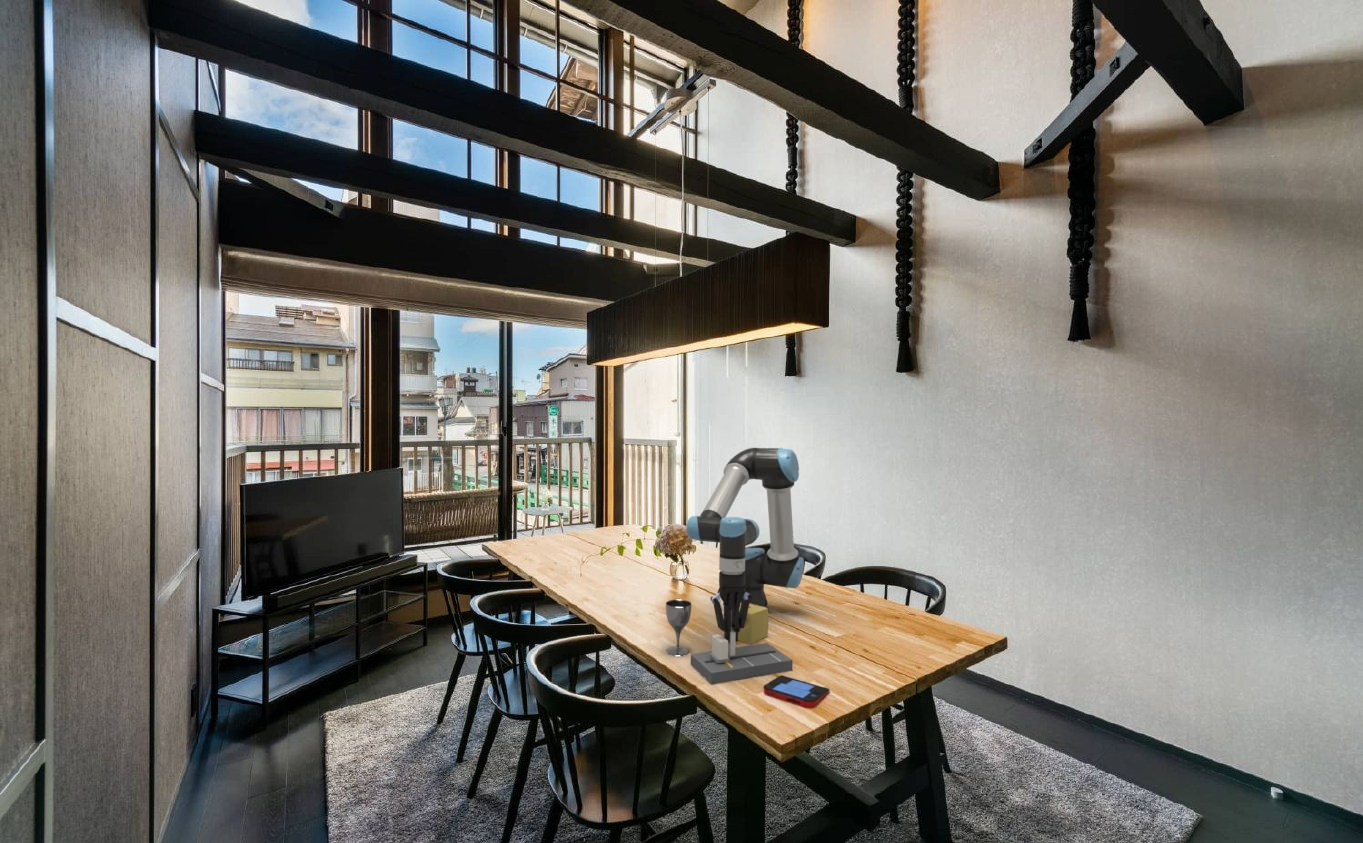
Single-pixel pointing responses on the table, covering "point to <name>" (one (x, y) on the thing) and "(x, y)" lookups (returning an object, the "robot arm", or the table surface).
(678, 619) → the wine glass
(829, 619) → the table surface
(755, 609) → the cheese
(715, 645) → the fader
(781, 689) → the red and black smartphone
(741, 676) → the board
